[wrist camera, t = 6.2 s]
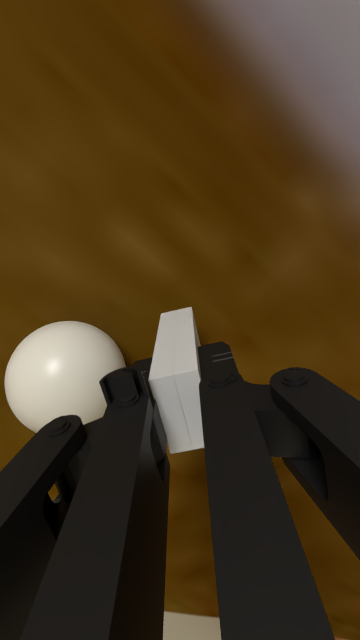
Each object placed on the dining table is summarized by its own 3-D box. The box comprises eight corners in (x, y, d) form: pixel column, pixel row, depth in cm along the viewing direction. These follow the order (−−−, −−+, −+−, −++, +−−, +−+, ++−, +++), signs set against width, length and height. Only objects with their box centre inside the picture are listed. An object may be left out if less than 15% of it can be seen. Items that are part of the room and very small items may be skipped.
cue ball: (-36, 380, 12) (-8, 334, 17) (35, 487, 14) (41, 418, 19) (107, 319, 13) (94, 293, 18) (154, 426, 15) (131, 376, 20)
